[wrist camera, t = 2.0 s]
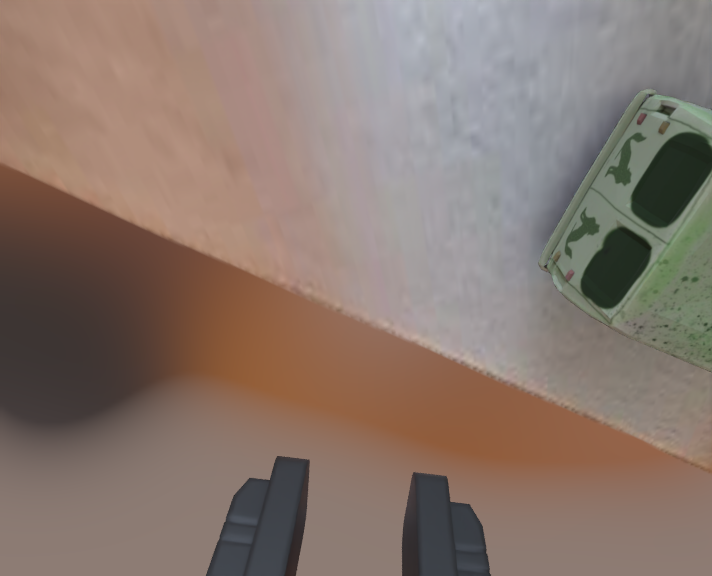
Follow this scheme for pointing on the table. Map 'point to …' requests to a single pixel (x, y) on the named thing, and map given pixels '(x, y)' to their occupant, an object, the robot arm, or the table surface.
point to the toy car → (645, 230)
